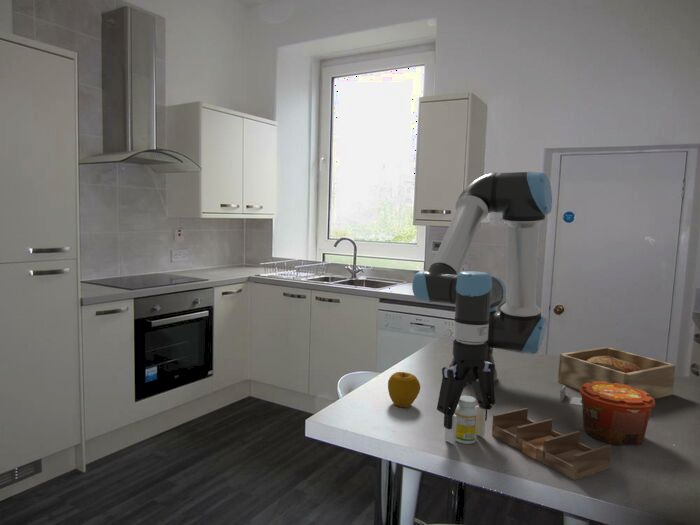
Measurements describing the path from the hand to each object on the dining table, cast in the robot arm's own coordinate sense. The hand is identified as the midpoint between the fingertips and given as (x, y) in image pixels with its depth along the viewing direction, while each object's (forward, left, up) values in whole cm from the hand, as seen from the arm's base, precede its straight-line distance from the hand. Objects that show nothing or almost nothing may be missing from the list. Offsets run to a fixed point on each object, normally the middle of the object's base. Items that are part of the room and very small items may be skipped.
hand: (464, 438), depth 112 cm
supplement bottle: (0, 0, 0) cm, 0 cm away
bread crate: (-8, +68, 0) cm, 68 cm away
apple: (-23, -1, 0) cm, 23 cm away
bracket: (-5, +47, -1) cm, 47 cm away
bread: (-8, +68, 0) cm, 69 cm away
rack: (+12, +13, 0) cm, 18 cm away
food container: (+13, +35, -1) cm, 37 cm away
